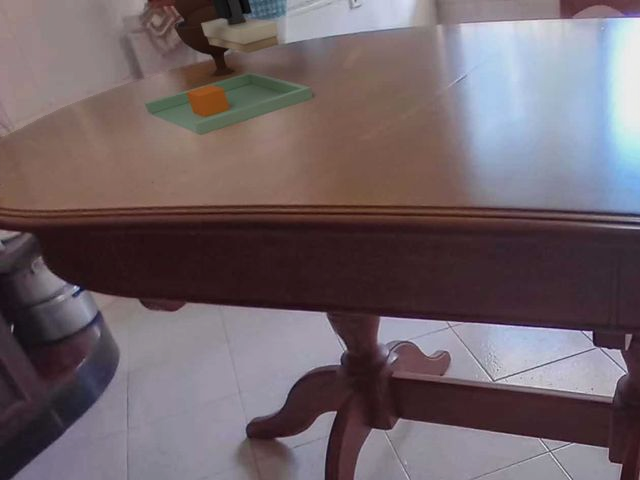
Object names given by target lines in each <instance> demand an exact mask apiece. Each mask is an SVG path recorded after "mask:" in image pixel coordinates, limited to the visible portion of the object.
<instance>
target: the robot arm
mask: <svg viewBox="0 0 640 480" xmlns="http://www.w3.org/2000/svg"><path fill="white" fill-rule="evenodd" d="M212 1H213V4H214V7H215V11H216V14H217V17H218V18H222V19H229V18H231V16H230V12H229V9H228V6H227V2H226V0H212ZM240 1H241V4H242V8H243V12H244V15H249V14H252V13H253V12H252V8H251V4H250V1H249V0H240Z"/></svg>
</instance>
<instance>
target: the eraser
mask: <svg viewBox="0 0 640 480" xmlns="http://www.w3.org/2000/svg"><path fill="white" fill-rule="evenodd" d="M186 93H187V96H188V99H189V102H190V105H191V107H192V110H193V113H195V114H198V115H201V116H203V117H207V116H211V115H214V114H217V113H220V112H223V111H226V110H230V108H229V104H228V101H227V98H226V95H225V91H224V89H223V88H219V87H216V86H213V85H209V86H206V87H203V88H199V89H196V90H192V91H189V92H186Z"/></svg>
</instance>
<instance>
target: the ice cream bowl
mask: <svg viewBox="0 0 640 480" xmlns="http://www.w3.org/2000/svg"><path fill="white" fill-rule="evenodd" d="M173 2H174V4H173V7H174V9H175V10H176V11H177V13H178V14H179V15H180V16H181V17H182V20H180V21H178V22H175V23H174V27H173V28H174V30H175V32H176V34H177V35H178V38H180V40H181V41H182V42H183V43H184V44H185V45H186V46H187V47H189V48H191V49H192V50H194V51H196V52H198V53H200V54H204V55H207V56H208V55H209V56H210V57H211V58H212V59H213V61H214V63H215V67H216V69H215V70H214V71H213V72H212V73H211V75H209V78H211V77H225V76H228V75H232V74H234V73H235V72H236V70H235V69H234V68H230V67H228V66H227V63H226V59H225V53H226V52H228V51H229V50H230V49H228V48H223V47H219V46H215V45H210V44H209V41H208V38H207V36H205V34H204V31H203V28H202V25H201V23H204V22H208V21H212V20H216V19H221V18H218V17H217V14H216V11H215V7H214V4H213V1H212V0H174V1H173Z"/></svg>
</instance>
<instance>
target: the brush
mask: <svg viewBox="0 0 640 480" xmlns="http://www.w3.org/2000/svg"><path fill="white" fill-rule="evenodd" d="M226 2H227V6H228V9H229V12H230V16H231V18H229V19H222V18H221V19H216V20H212V21H208V22H204V23H201V25H202V28H203V31H204V34H205V36H207V38H208V41H209V44H210V45H215V46H219V47H223V48H228V49H229V50H233V51H238V52H241V53H246V54H249V53H253V52H256V51H260V50H264V49H267V48H270V47H271V48H272V47H275V46H279V41H278V40H279V39H278V36H279V33H278V32H279V31H278V29H277V28H278V27H277V24H276V21H271V20H264V19H258V18H252V17H247V16H246V14H244V12H243V8H242V4H241V1H240V0H226Z"/></svg>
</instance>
